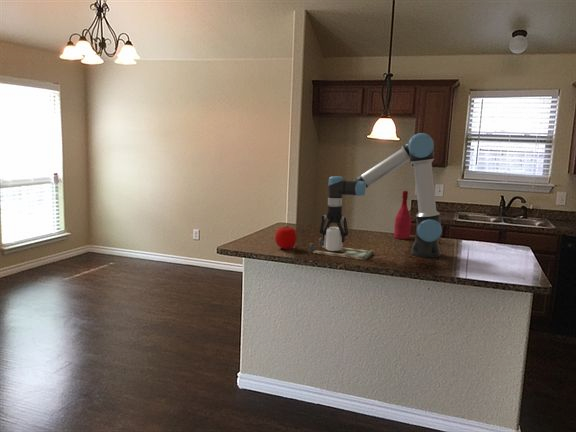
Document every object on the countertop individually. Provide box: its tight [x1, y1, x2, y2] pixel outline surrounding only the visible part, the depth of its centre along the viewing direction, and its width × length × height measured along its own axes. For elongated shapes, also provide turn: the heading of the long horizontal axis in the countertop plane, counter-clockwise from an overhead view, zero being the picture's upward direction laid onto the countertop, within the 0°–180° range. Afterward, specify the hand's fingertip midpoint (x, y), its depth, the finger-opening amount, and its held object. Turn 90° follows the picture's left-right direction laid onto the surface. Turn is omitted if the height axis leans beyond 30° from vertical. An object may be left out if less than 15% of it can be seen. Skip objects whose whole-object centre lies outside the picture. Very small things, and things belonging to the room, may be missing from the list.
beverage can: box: [325, 226, 342, 252], centre depth 251 cm, size 8×8×12 cm
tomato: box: [274, 225, 297, 250], centre depth 255 cm, size 12×12×13 cm
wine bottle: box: [393, 190, 412, 240], centre depth 292 cm, size 10×10×30 cm
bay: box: [309, 237, 374, 261], centre depth 250 cm, size 30×17×5 cm, turn 67°
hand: (333, 247), depth 251 cm, fingers closed on beverage can, 8 cm apart
